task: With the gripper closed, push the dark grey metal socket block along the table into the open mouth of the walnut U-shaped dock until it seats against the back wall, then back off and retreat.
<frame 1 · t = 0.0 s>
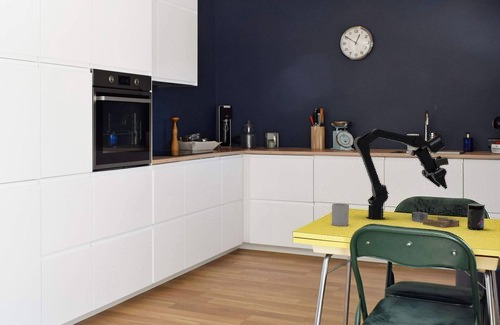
hand: (442, 187, 293), 15 cm above the table, tool tilted 35°, fingers open, 9 cm apart
dock: (439, 224, 276), on the table
socket: (419, 221, 286), on the table
cup: (339, 225, 273), on the table
supplement container: (475, 229, 266), on the table
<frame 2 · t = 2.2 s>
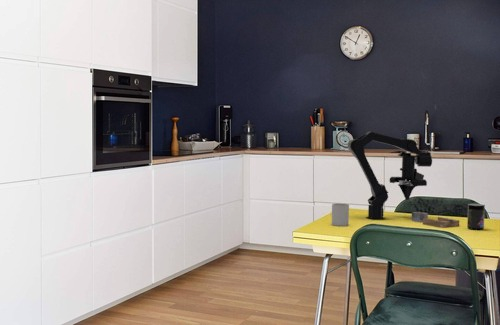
hand: (407, 199, 293), 9 cm above the table, tool pointing down, fingers closed
nothing on the table moved.
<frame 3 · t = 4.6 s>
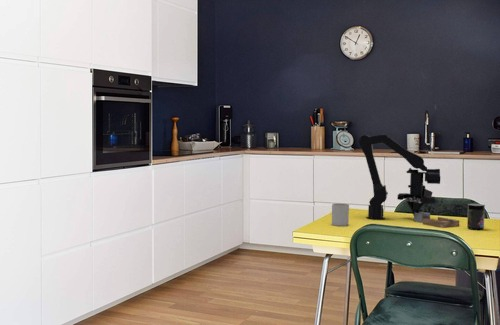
hand: (415, 217, 289), 2 cm above the table, tool pointing down, fingers closed
socket: (421, 221, 285), on the table, touching gripper
everything else where it was.
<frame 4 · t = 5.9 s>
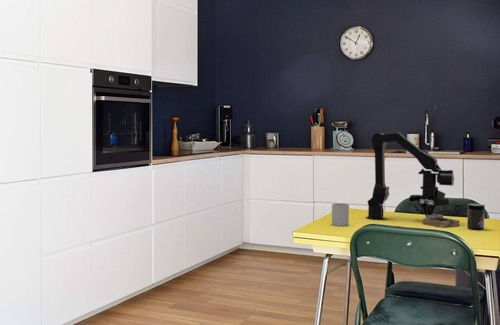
hand: (428, 219, 282), 2 cm above the table, tool pointing down, fingers closed
socket: (434, 224, 279), on the table, touching gripper
everything else where it was.
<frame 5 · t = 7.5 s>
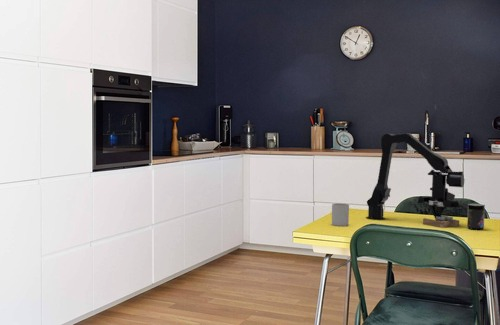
hand: (437, 220, 277), 2 cm above the table, tool pointing down, fingers closed
socket: (444, 225, 274), on the table, touching dock, gripper
everything else where it was.
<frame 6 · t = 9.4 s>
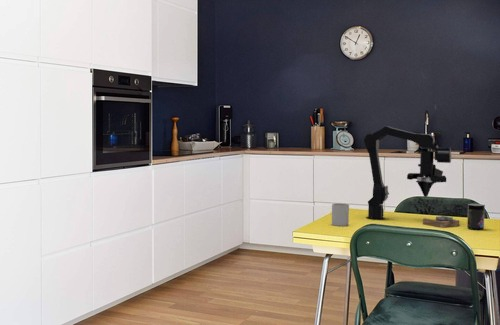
hand: (425, 196, 283), 12 cm above the table, tool pointing down, fingers closed
socket: (444, 226, 274), on the table
everything else where it was.
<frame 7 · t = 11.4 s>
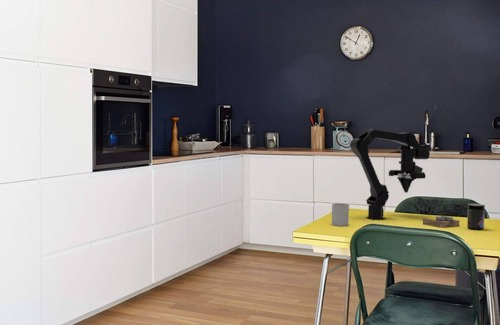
hand: (406, 192, 296), 12 cm above the table, tool pointing down, fingers closed
nothing on the table moved.
at the end: socket inside the target area (0.3 cm from its centre), on the table; socket tilted 0° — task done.
